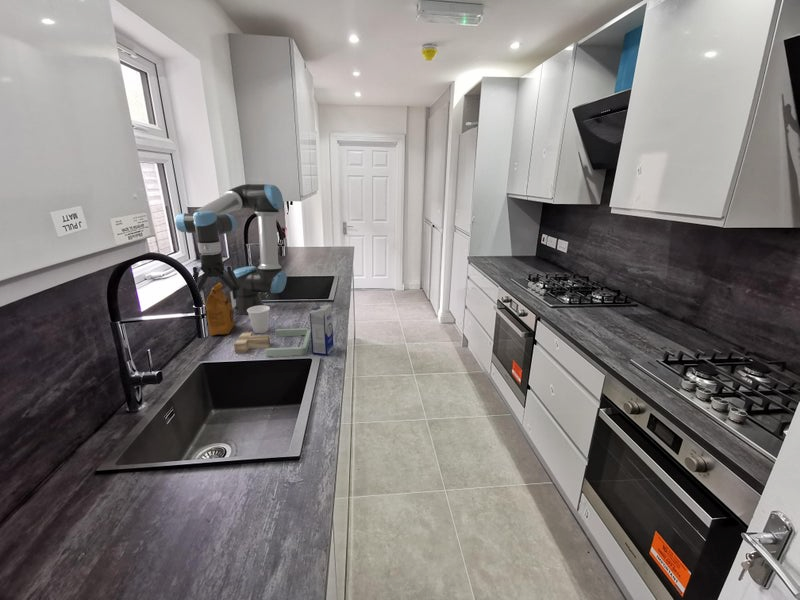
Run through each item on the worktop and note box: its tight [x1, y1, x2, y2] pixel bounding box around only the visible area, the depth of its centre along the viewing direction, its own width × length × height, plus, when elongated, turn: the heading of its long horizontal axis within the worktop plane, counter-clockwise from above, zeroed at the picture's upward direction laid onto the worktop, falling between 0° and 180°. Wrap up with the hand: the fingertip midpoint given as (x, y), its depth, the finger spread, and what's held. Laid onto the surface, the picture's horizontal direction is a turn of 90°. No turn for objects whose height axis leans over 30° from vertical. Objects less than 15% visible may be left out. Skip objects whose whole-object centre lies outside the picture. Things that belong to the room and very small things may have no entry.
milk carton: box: [308, 304, 335, 357], centre depth 143 cm, size 7×7×20 cm
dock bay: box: [265, 327, 311, 357], centre depth 152 cm, size 21×16×3 cm
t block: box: [233, 331, 271, 354], centre depth 150 cm, size 12×12×4 cm
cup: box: [247, 305, 271, 335], centre depth 164 cm, size 10×10×11 cm
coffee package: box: [205, 282, 235, 337], centre depth 161 cm, size 10×12×22 cm
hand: (218, 306), depth 143 cm, fingers open, 11 cm apart
